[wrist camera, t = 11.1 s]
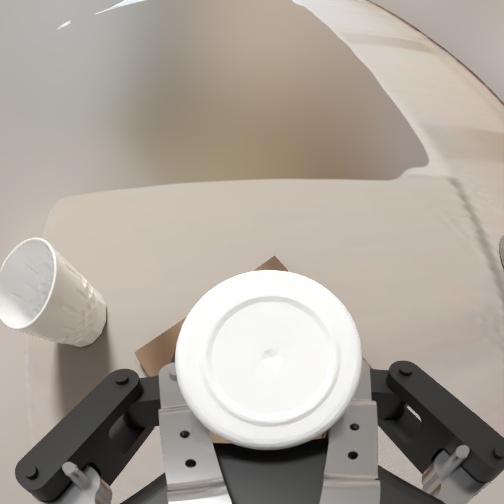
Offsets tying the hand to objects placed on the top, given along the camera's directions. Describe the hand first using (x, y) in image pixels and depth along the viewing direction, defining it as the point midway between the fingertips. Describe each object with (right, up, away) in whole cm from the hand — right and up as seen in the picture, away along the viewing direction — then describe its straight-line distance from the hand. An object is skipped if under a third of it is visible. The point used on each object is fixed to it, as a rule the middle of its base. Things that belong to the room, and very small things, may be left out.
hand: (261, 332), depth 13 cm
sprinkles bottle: (0, -5, +5) cm, 7 cm away
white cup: (-18, -3, +13) cm, 23 cm away
